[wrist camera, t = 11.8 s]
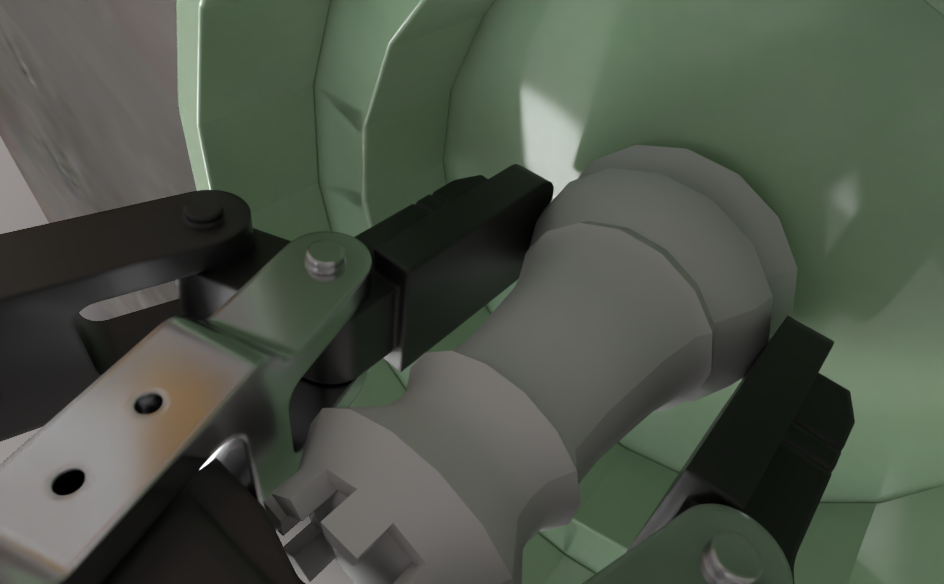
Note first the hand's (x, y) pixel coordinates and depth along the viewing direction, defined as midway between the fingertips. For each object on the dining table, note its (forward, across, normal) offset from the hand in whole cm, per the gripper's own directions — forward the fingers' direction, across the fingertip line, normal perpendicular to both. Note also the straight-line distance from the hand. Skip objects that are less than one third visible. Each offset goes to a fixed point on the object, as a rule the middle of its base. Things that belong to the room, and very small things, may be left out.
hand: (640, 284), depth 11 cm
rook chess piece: (+1, 0, 0) cm, 1 cm away
